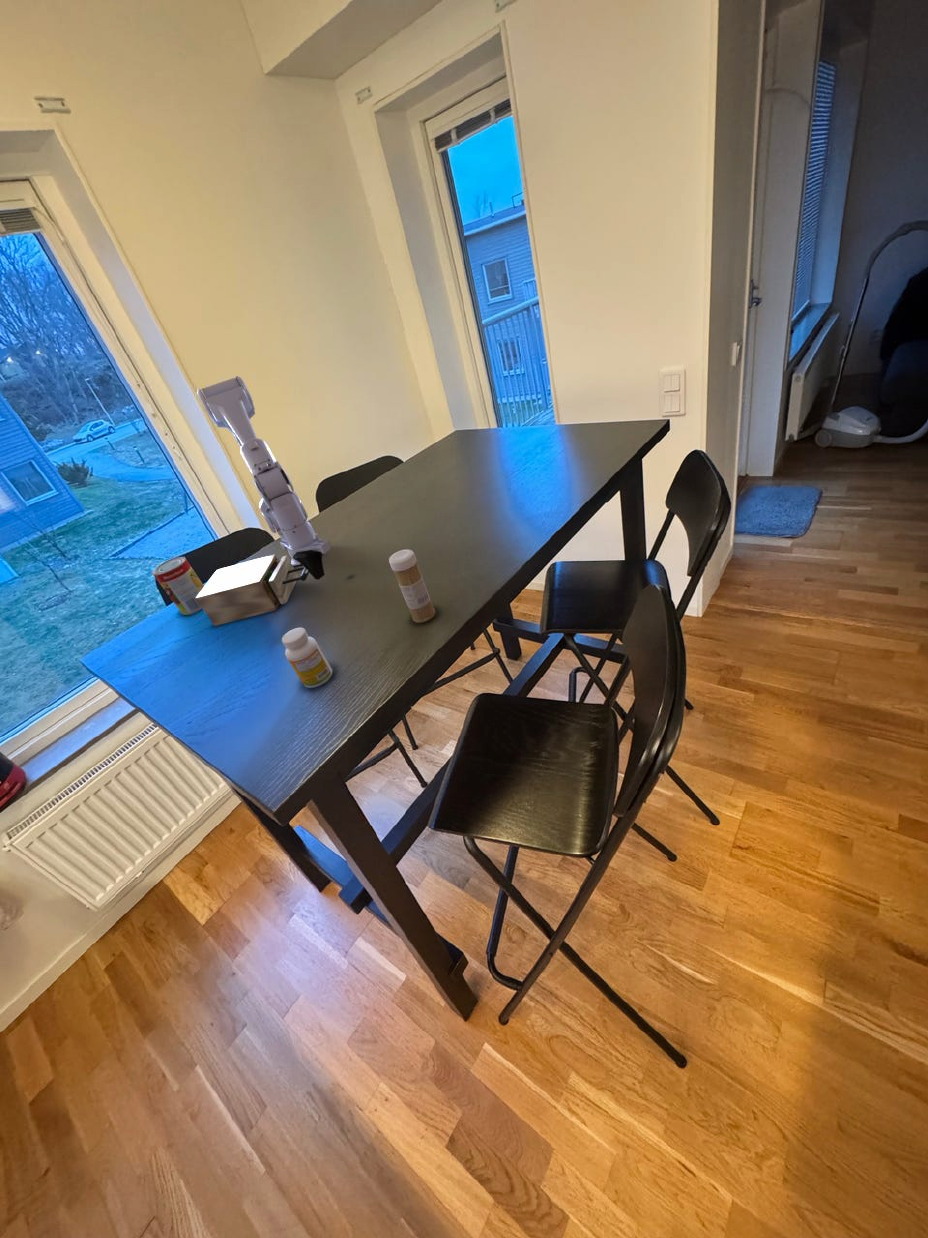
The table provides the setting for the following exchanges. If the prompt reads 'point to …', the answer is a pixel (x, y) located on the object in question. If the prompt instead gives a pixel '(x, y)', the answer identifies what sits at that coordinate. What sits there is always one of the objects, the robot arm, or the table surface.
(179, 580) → the canned food
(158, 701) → the table surface
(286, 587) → the drawer
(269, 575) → the green block
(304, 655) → the supplement bottle
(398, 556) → the sprinkles bottle
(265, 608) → the cabinet
